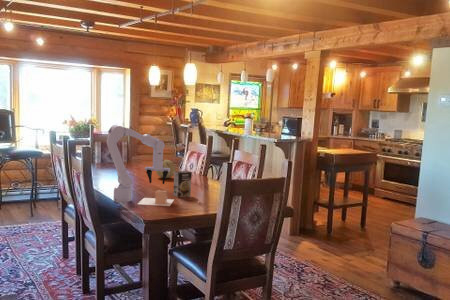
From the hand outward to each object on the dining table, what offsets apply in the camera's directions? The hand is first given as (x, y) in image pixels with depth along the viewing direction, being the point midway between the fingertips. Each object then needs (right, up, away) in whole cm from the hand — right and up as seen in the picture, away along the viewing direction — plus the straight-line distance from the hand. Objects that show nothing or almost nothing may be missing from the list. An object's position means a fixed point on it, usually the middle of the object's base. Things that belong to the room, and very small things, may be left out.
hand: (156, 183), depth 250 cm
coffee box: (+13, -10, +14) cm, 22 cm away
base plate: (+1, -11, -7) cm, 13 cm away
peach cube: (+4, -10, -9) cm, 14 cm away
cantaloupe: (-6, -3, +79) cm, 79 cm away
